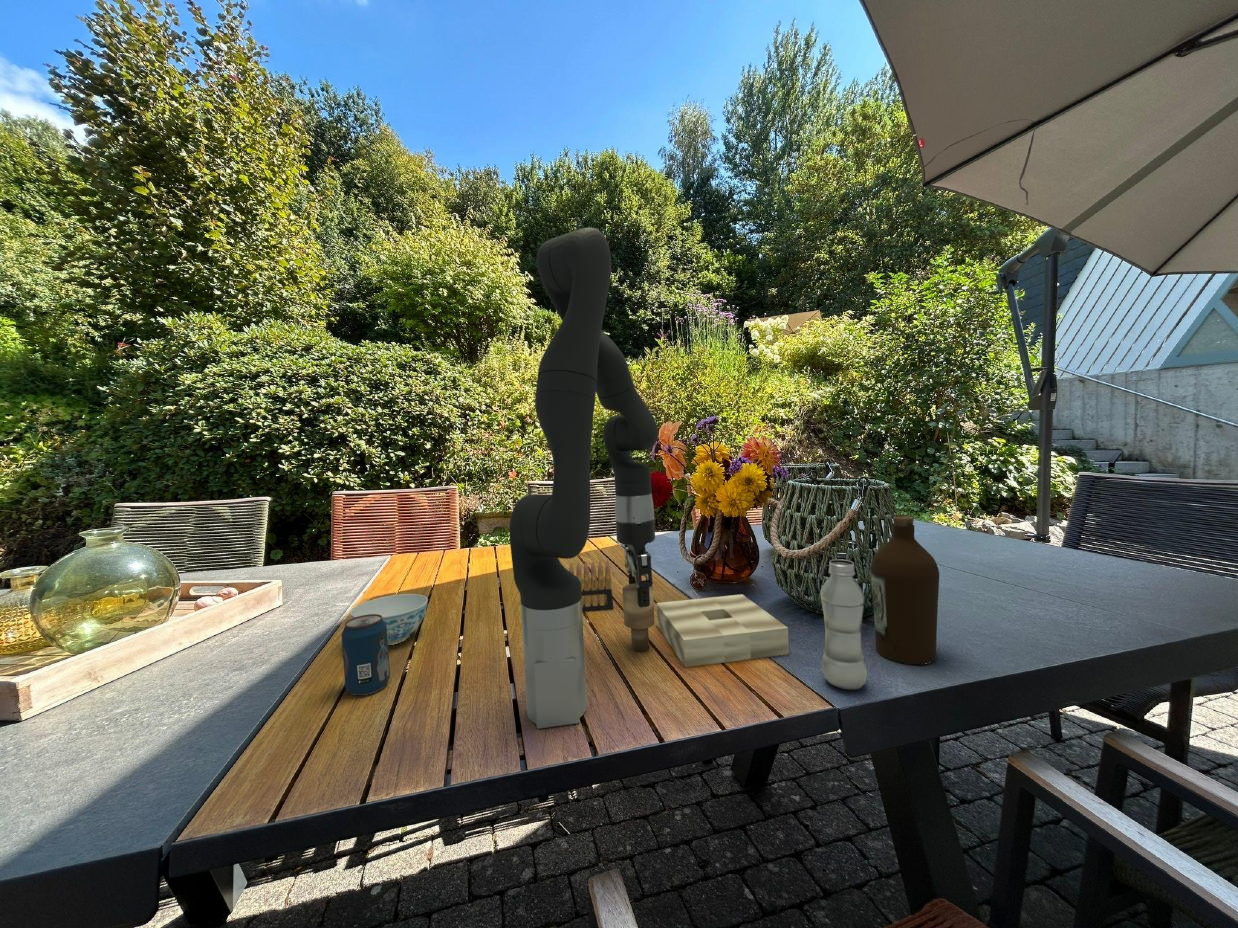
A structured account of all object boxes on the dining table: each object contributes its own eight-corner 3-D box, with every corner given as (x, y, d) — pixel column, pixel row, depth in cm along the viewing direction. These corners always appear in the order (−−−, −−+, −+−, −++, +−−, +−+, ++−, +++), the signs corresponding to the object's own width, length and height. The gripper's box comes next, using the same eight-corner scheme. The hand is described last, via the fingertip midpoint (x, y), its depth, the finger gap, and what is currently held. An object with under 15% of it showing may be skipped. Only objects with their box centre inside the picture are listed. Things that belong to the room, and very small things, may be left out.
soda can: (349, 682, 85) (344, 616, 84) (392, 674, 87) (387, 610, 87) (342, 702, 79) (336, 630, 78) (388, 692, 81) (383, 623, 80)
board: (788, 654, 89) (788, 627, 88) (685, 667, 85) (683, 639, 85) (743, 615, 108) (742, 594, 108) (657, 625, 105) (656, 603, 105)
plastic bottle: (842, 698, 73) (839, 569, 72) (813, 677, 80) (810, 559, 79) (877, 691, 75) (874, 565, 74) (845, 671, 81) (843, 555, 80)
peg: (658, 652, 92) (656, 591, 91) (628, 656, 91) (625, 594, 90) (651, 639, 98) (649, 582, 97) (622, 643, 97) (620, 584, 96)
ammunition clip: (612, 606, 118) (610, 559, 117) (613, 609, 116) (611, 560, 116) (569, 610, 117) (567, 561, 116) (569, 612, 115) (567, 563, 115)
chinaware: (429, 646, 99) (427, 609, 99) (347, 661, 94) (344, 623, 93) (429, 622, 113) (427, 590, 113) (358, 634, 108) (355, 600, 107)
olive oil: (929, 643, 90) (927, 512, 89) (949, 670, 80) (948, 522, 79) (867, 639, 94) (864, 512, 92) (878, 663, 83) (876, 522, 82)
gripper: (610, 513, 99) (614, 589, 100) (622, 525, 85) (627, 614, 86) (645, 510, 100) (649, 585, 102) (663, 522, 86) (667, 609, 88)
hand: (639, 598), depth 94 cm, fingers open, 8 cm apart
